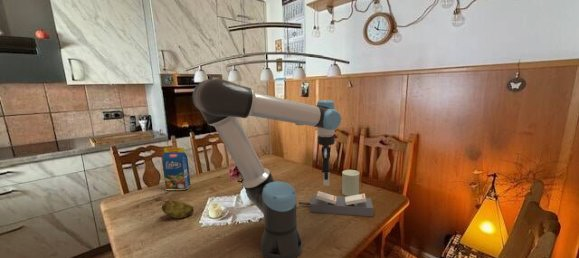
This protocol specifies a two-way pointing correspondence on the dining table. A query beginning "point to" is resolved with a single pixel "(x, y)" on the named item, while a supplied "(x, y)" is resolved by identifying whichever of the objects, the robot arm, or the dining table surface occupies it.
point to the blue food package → (175, 168)
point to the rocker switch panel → (340, 207)
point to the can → (350, 182)
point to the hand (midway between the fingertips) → (326, 185)
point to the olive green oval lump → (177, 209)
